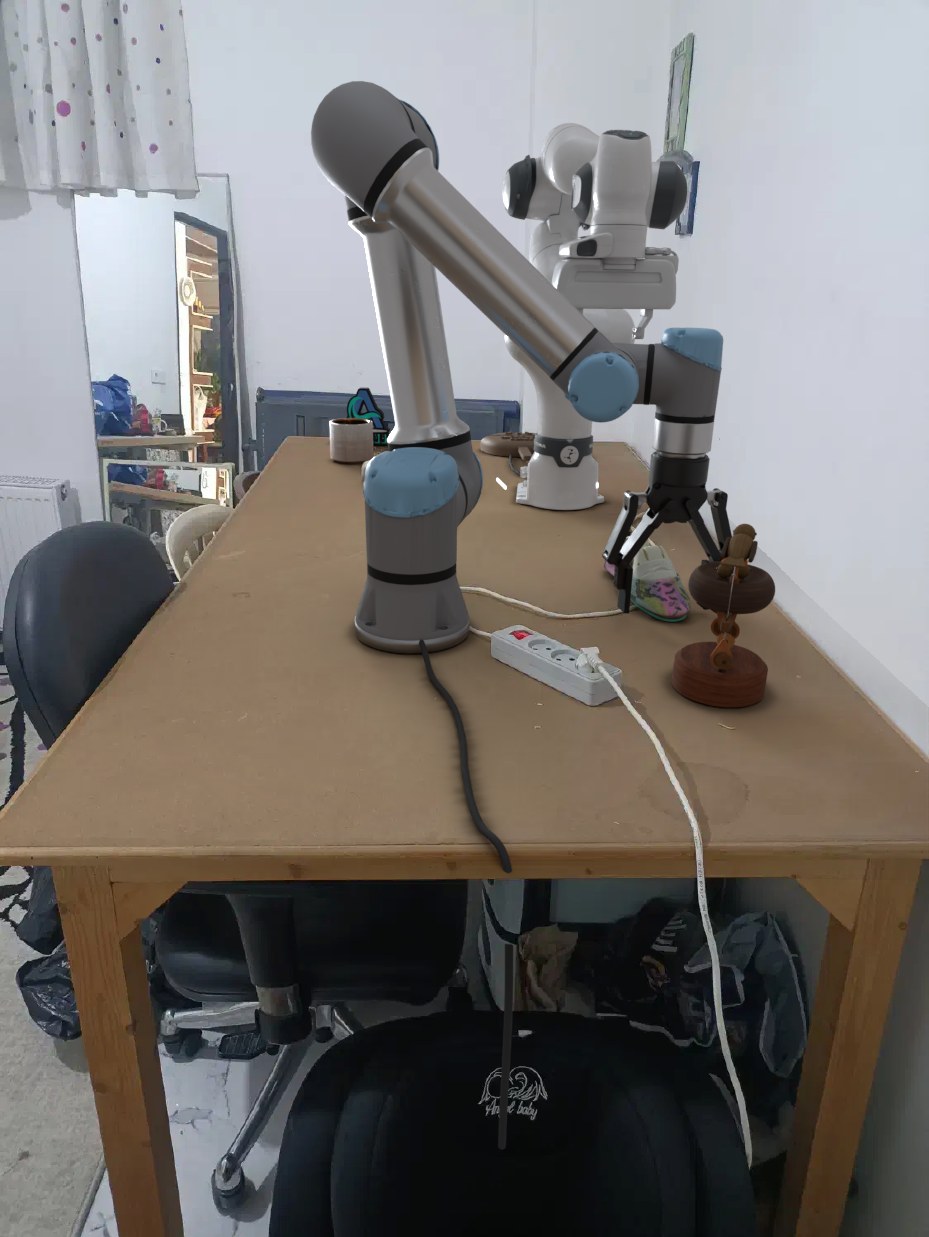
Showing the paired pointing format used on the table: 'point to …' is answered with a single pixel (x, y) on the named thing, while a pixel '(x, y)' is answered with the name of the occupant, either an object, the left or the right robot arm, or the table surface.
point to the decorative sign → (369, 414)
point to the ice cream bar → (510, 444)
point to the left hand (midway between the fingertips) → (663, 608)
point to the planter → (351, 440)
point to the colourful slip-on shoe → (656, 584)
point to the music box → (726, 628)
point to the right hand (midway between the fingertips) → (610, 339)
